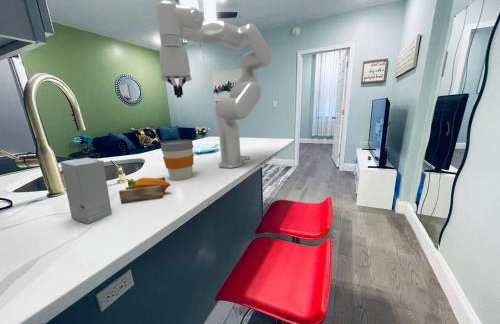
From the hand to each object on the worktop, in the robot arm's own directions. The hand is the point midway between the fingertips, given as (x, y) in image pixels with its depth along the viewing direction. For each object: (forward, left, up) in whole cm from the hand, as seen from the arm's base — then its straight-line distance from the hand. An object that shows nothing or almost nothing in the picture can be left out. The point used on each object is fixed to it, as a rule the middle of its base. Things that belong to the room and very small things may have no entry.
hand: (179, 97), depth 79 cm
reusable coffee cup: (+3, -2, -32) cm, 33 cm away
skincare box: (+25, +25, -32) cm, 48 cm away
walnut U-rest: (+14, +14, -32) cm, 38 cm away
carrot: (+5, +16, -29) cm, 34 cm away
